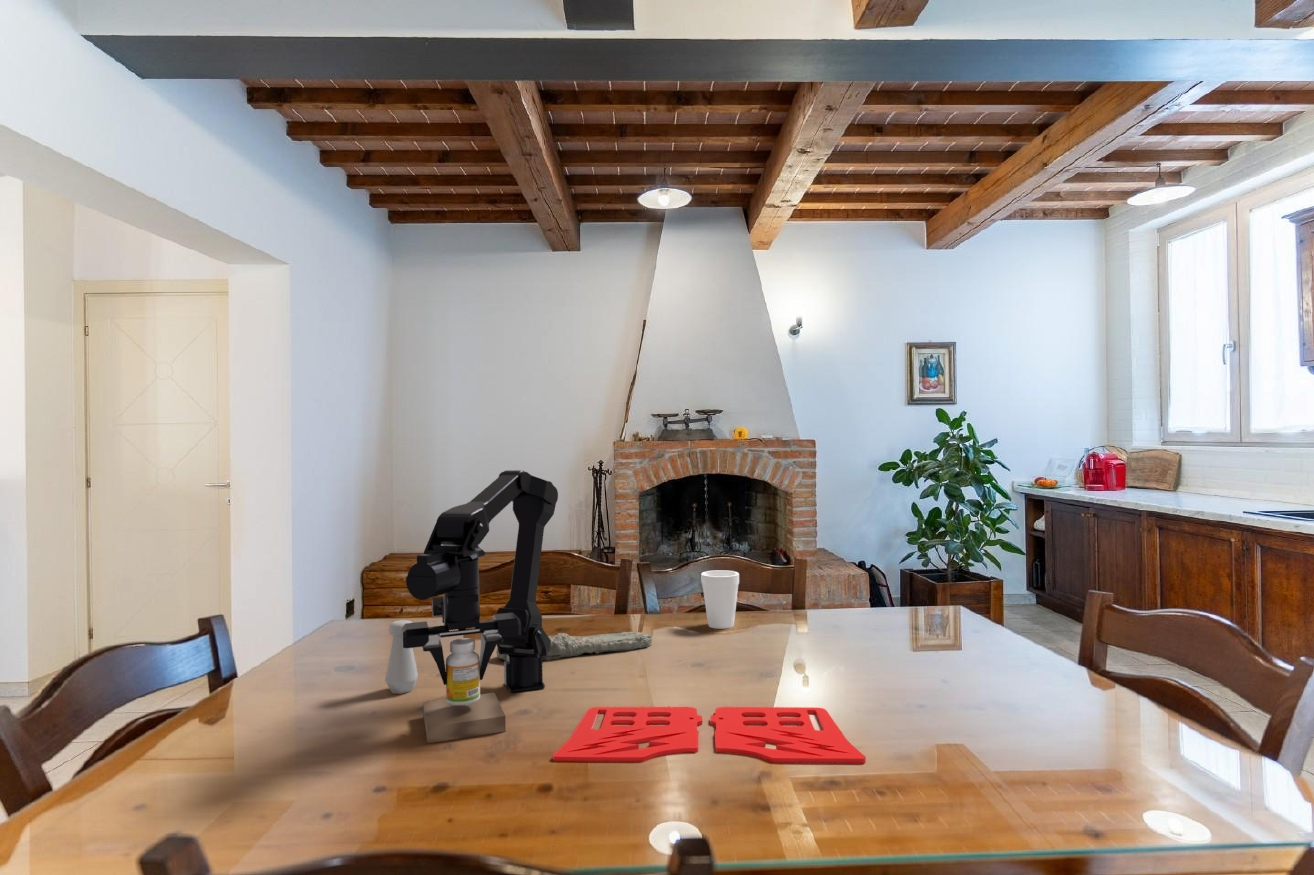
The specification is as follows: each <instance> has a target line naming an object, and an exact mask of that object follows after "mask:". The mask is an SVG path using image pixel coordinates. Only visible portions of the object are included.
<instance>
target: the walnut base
mask: <svg viewBox="0 0 1314 875" xmlns="http://www.w3.org/2000/svg"><path fill="white" fill-rule="evenodd" d="M422 718H423V725H424V731H425V737H426V743H427V744H435V743H441V742H446V741H453V740H458V739H459V740H460V739H467V738H472V737H479V736H485V735H486V736H487V735H491V734H498V733H505V732H506V731H507V729H506V728H507V726H506V725H507V724H506V714H505V712H504V710H503V708H502V706H501V703H500V701H499V699H498V696H497V695H496V693H495V692H489V693H482V694H481V693H480V698H479V700H478V701H476V702H474V703H471V704H467V705H452V704H449V703H448V702H447V698H446V699H445V698H444V699H437V700H430V701H428V700H427V701H422Z"/></svg>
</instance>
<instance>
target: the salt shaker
mask: <svg viewBox="0 0 1314 875" xmlns="http://www.w3.org/2000/svg"><path fill="white" fill-rule="evenodd" d="M405 623H413V622H412V621H411V620H407V619H400V620H395V621H393V622H391V623H390V624H389V628H388V632H389V635H390V636H392V638H391V639H392V640H391V646H390V651H389V658H388V663H387V671H386V675H385V680H384V681H385V684H386V685H387V687H388V688H389V691H390V692H391V694H393V695H394V694H398V695H401V694H406V693H410V692H412V691H413V690H414V689H415V685H416V683H417V681H418V676H419V674H418V668H417V667H418V666H417V662H416V658H415V653H414V648H403V643H402V627H403V626H404V625H405Z"/></svg>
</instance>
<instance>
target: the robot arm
mask: <svg viewBox="0 0 1314 875" xmlns="http://www.w3.org/2000/svg"><path fill="white" fill-rule="evenodd" d="M558 492H559V491H558V489H557V487H556V486H555V485H554V484H553V482H552V481H549V480H546V479H543V478H541V477H537V476H535V475H532V474H530V473H529V472H528V471H525V470H522V469H521V470H518V469H517V470H515V469H514V470H511V469H510V470H504V471H501V472H500V473H499V475H498V477H497V478H496V479H495V480H493V481H492V482H491V483H490V484H489V485H488V486H487V487H485V488H484V489H483V490H482V491H481V492H480V493H478V494H477V495H476V496H474V498H472V499H471V500H470V501H468V502H467V503H464V504H459V505H456V506H453V507H451V508H448V509H447V510H445V511H443V512H441V514H439V516H438V517H437V519H436V523H435V525H433V526H434V527H433V529H432V531H431V534H430V536H429V539H428V541H427V543H426V546H425V548H424V550H423V554H418V555H416V563H414V565H412V566H411V567H410V568H409V570H408V572H407V574H406V575H407V576H406V577H405V583H406V588H407V590H408V592H409V594H410V595H411V596H412V597H413V598H415V599H417V600H418V601H419V600H420V601H425V600H429V599H431V613H432V614H431V615H432V618H442V619H441V620H442V624H443V625H436V626H435V625H434V626H429V625H428V622H427V621H416V622H412V623H405V625H404V626H403V627H402V643H403V648H413V649H415V648H422V651H423V652H430V654H431V656H432V658H433V660H434V662H435V663H436V666H437V669H438V672H439V674H440V677H441V680H442V682H443V685H445V686H446V681H447V676H446V662H445V657H444V650H443V646H442V645H443V644H442V642H441V638H447V637H448V638H449V637H458V636H467V635H476V634H480V653H479V654H480V655H479V661H480V681H482V680H483V679H484V675H485V673H486V671H487V667H488V666H489V662H490V659H491V657H492V655H493V653H494V651H495V649H496V647H497V648H498V651H499V654H500V655H502V654H505V655H507V661H505V660H504V662H503V679H504V680H503V683H504V685H505V686H506V687H507V688H508V691H509V692H510V693H516V692H524V691H531V690H539V689H544V688H546V684H545V683H544V682H543V679H544V678H543V660H542V656H547V655H548V652H549V651H550V644H551V640H550V639H549V637H548V636H549V635H548V634H547V632H546V631H545V630H544V629H543V616H542V614H541V611H540V609H539V606H538V604H537V601H536V599H537V591H538V582H539V575H540V574H539V573H540V567H541V566H540V565H541V556H542V550H543V549H542V548H543V541H544V533H545V532H544V530H545V527H546V526H547V524H548V523H549V522H550V520H551V519H552V517H553V516H554V514H555V511H556V509H555V508H556V505H557V502H558V498H559V493H558ZM511 502H512V511H513V514H514V516H515V518H516V520H517V522H518V527H517V528H518V530H517V538H516V547H515V553H514V562H513V568H512V577H511V584H510V585H511V586H510V594H509V599H508V600H507V602H506V604H505V605H504V606H503V607H499V608H498V609H497V611H496V613H495V614H493V615H492V620H480V576H479V575H480V573H479V571H480V570H479V569H480V568H479V565H480V563H479V560H480V559H479V558H481V557H484V556H485V555H486V551H484V549H483V548H481V547H480V546H479V545H480V544H481V543H482V541H484V539H485V537H487V535H488V533H489V532H490V523H491V521H493V519H494V518H496V516H497V515H499V514H500V513H501V512H502V511H503V510H505V508H506V507H507V506H508V505H510V503H511ZM441 595H443V596H441ZM439 596H441V597H439Z"/></svg>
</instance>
